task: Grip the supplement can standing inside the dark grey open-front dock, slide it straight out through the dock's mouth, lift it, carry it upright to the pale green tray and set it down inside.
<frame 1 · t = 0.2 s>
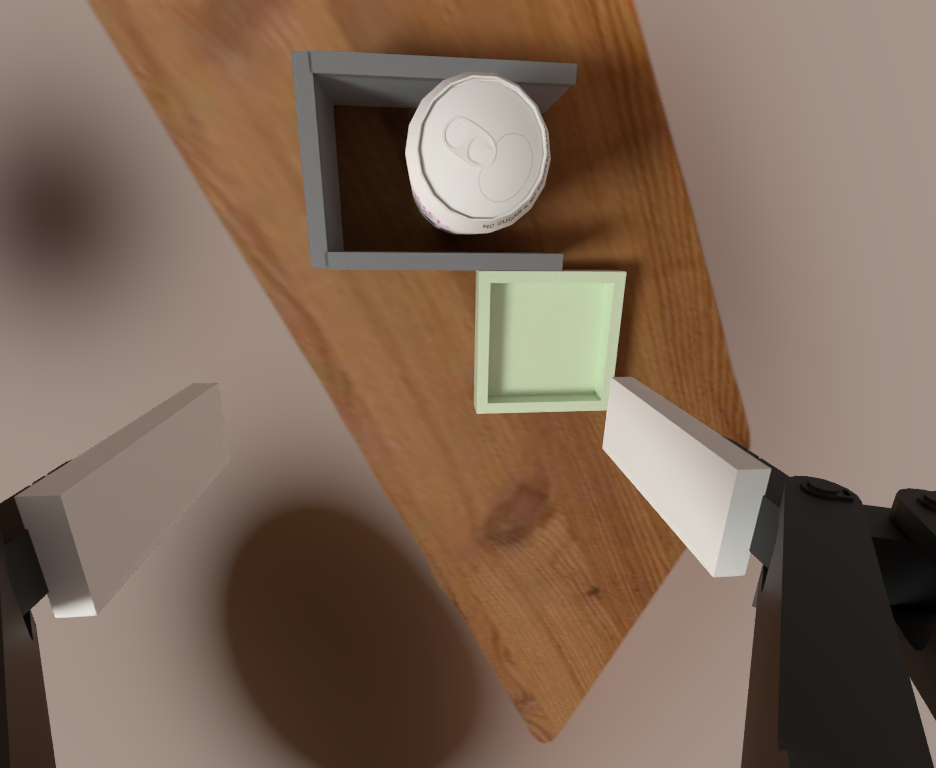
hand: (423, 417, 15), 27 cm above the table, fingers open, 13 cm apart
dock: (436, 183, 38), on the table
tray: (542, 339, 43), on the table
supplement can: (459, 184, 38), resting in dock
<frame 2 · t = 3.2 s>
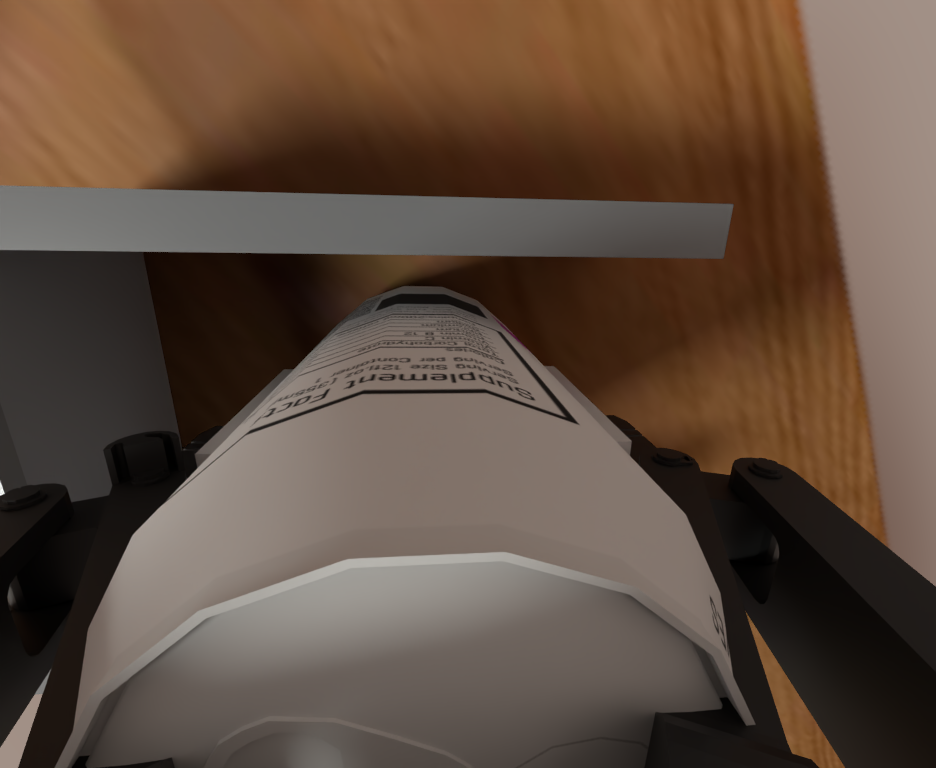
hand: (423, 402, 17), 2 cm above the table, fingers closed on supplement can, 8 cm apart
dock: (374, 383, 19), on the table
supplement can: (423, 381, 19), resting in dock, touching gripper
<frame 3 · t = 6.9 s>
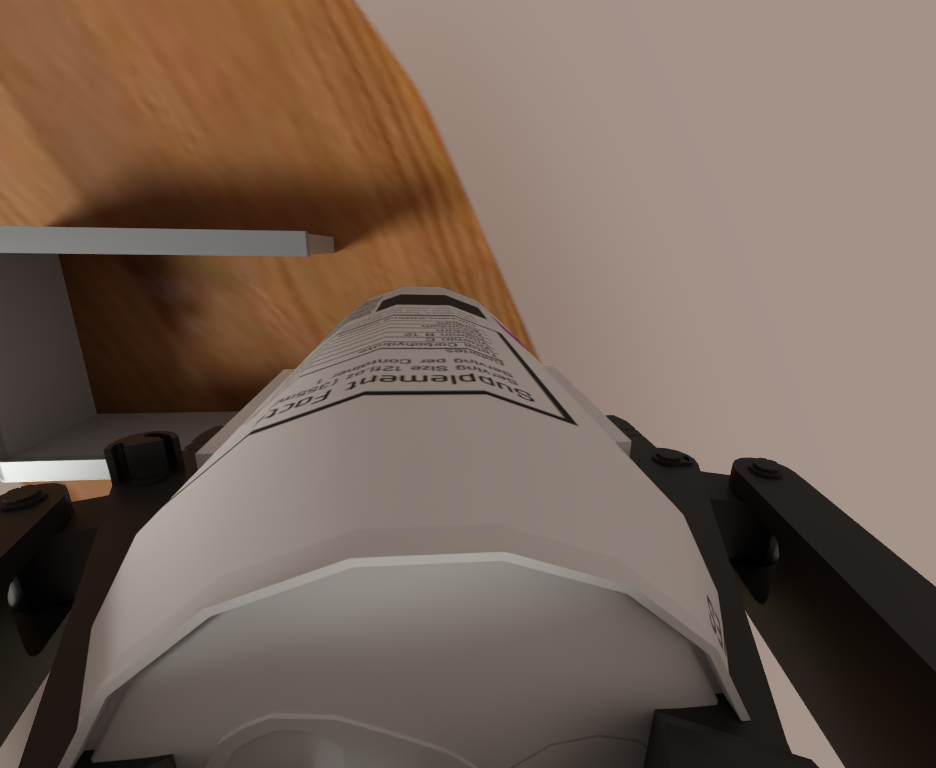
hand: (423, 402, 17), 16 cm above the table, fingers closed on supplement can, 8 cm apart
dock: (204, 335, 30), on the table
supplement can: (423, 382, 19), point 13 cm above the table, touching gripper
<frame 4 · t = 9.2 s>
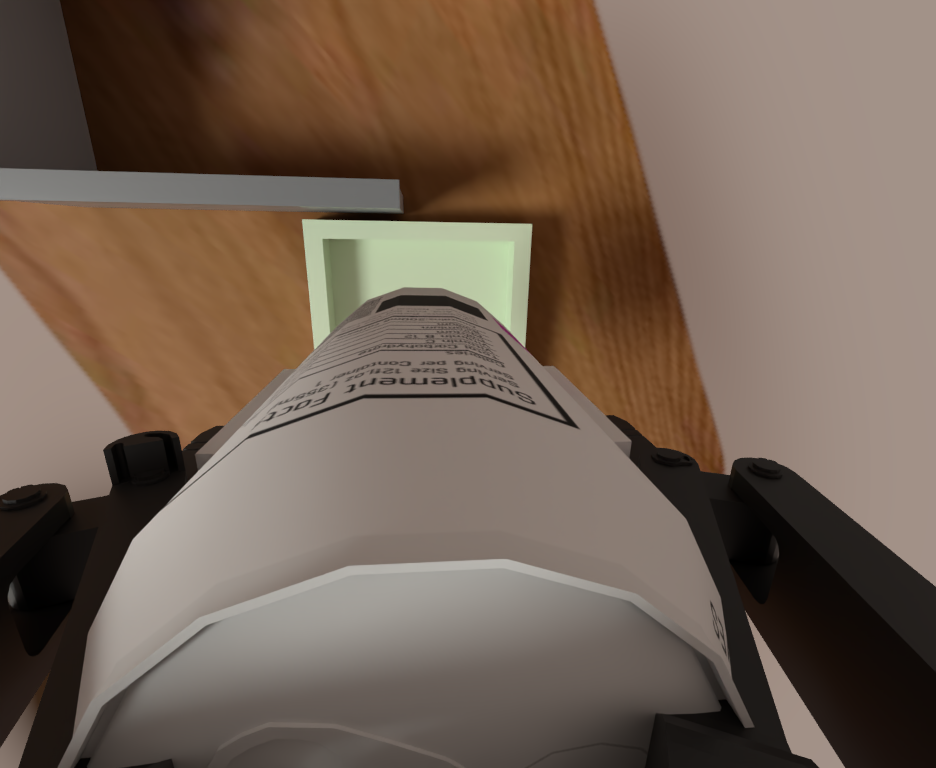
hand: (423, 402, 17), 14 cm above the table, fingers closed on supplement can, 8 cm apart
dock: (234, 83, 24), on the table
tray: (421, 326, 30), on the table
supplement can: (423, 383, 19), point 12 cm above the table, touching gripper
when the fingers open (5 cm above the table, at t = 11.0 s): supplement can drops 2 cm, resting on tray.
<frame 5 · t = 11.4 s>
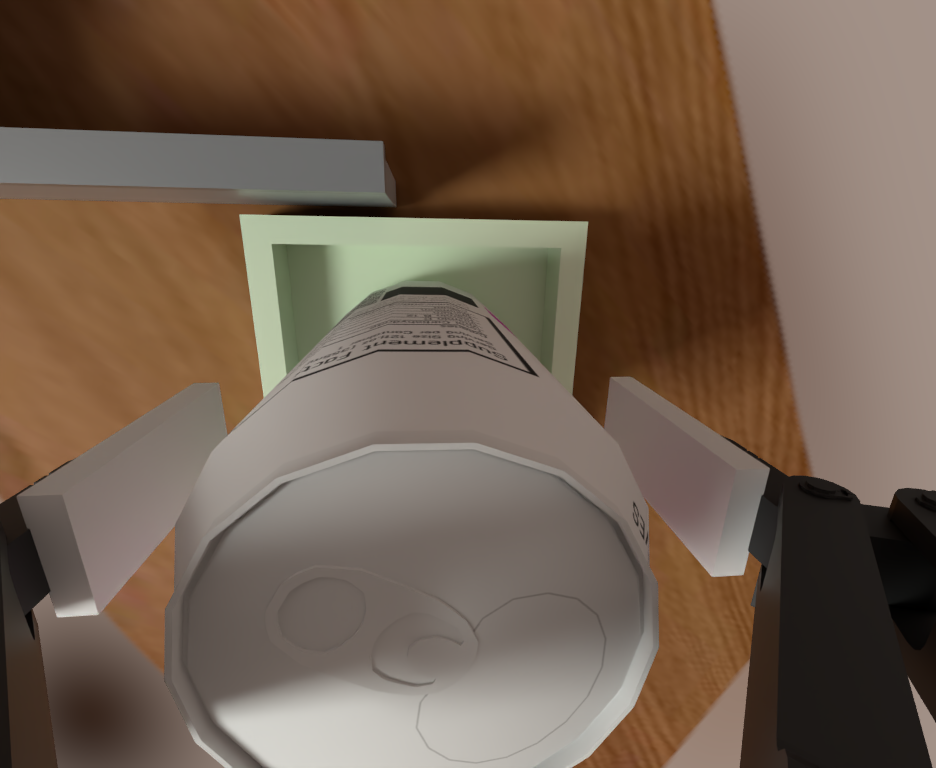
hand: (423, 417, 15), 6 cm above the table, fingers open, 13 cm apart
dock: (134, 5, 16), on the table
tray: (423, 367, 21), on the table
supplement can: (422, 368, 21), resting on tray
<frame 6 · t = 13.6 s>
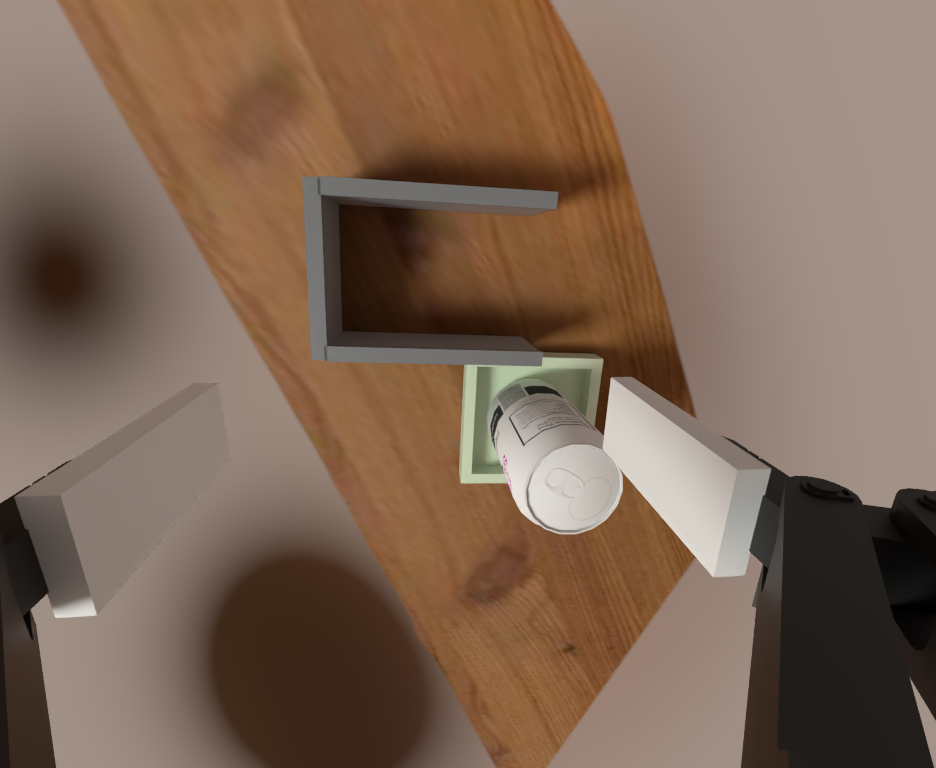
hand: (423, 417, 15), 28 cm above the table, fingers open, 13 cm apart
dock: (430, 274, 41), on the table
tray: (525, 414, 46), on the table
supplement can: (525, 414, 45), resting on tray
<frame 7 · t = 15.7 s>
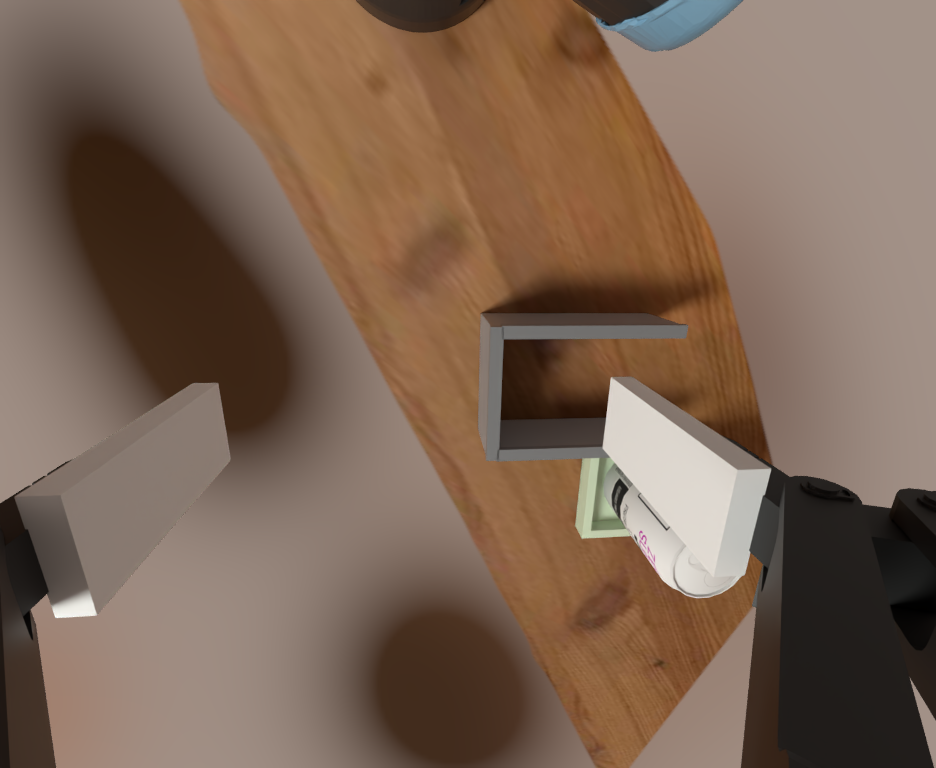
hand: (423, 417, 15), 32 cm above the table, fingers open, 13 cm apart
dock: (560, 372, 49), on the table
tray: (632, 477, 54), on the table
supplement can: (633, 479, 54), resting on tray
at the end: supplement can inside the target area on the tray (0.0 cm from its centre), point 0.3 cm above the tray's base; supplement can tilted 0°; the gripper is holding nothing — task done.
